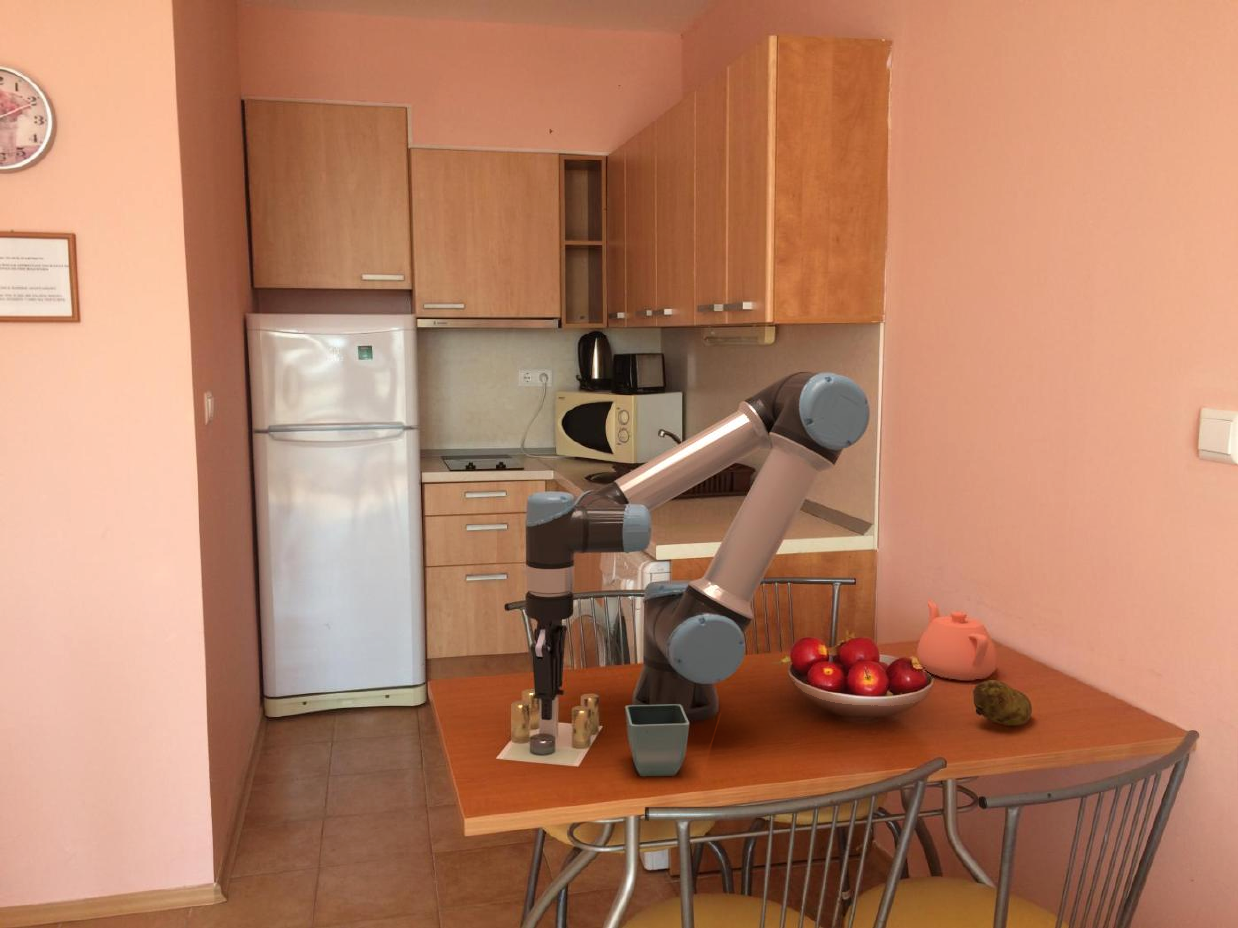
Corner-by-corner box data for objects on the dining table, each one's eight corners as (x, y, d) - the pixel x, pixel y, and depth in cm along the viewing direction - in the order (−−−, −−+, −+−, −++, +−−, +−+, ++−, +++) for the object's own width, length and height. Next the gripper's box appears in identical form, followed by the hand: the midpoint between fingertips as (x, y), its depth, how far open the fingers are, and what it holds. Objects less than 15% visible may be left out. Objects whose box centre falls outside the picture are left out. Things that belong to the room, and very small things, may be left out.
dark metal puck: (559, 748, 162) (559, 735, 162) (548, 757, 158) (548, 744, 158) (536, 744, 164) (536, 732, 163) (525, 753, 160) (525, 740, 160)
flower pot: (623, 760, 159) (624, 704, 158) (680, 759, 160) (681, 703, 159) (629, 784, 150) (630, 724, 149) (688, 782, 151) (690, 723, 150)
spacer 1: (532, 737, 167) (532, 701, 166) (526, 744, 164) (526, 707, 163) (514, 735, 167) (514, 699, 167) (508, 742, 164) (508, 706, 164)
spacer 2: (542, 724, 173) (542, 689, 172) (537, 730, 170) (537, 695, 169) (525, 722, 173) (525, 688, 172) (519, 729, 170) (519, 693, 170)
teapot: (893, 657, 215) (895, 599, 214) (959, 653, 218) (962, 596, 217) (947, 691, 194) (950, 627, 192) (1019, 687, 197) (1023, 624, 195)
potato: (1051, 728, 175) (1054, 682, 174) (988, 737, 171) (991, 690, 170) (1017, 712, 183) (1020, 668, 182) (957, 719, 178) (959, 675, 178)
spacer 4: (592, 742, 165) (592, 706, 164) (588, 749, 162) (588, 712, 161) (574, 741, 165) (574, 704, 165) (569, 748, 162) (569, 711, 162)
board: (602, 728, 172) (602, 725, 172) (578, 769, 156) (578, 765, 155) (527, 722, 175) (527, 719, 175) (495, 761, 158) (495, 757, 158)
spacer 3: (600, 729, 171) (600, 694, 170) (596, 735, 168) (596, 700, 167) (582, 727, 171) (583, 692, 170) (578, 734, 168) (578, 698, 168)
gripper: (538, 580, 168) (537, 720, 171) (514, 599, 155) (513, 749, 158) (582, 583, 166) (581, 724, 169) (562, 602, 154) (560, 754, 156)
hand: (548, 736), depth 164 cm, fingers closed
